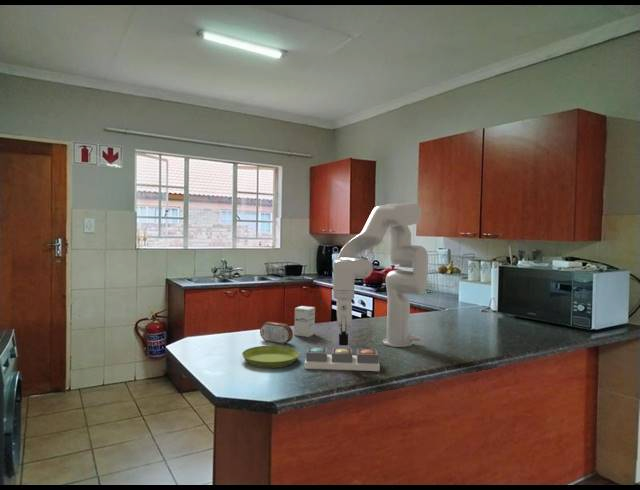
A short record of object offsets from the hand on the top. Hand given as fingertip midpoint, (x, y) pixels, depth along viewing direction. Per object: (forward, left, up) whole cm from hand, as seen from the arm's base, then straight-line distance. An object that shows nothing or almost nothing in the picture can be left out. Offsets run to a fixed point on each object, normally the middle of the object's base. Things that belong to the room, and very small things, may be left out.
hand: (343, 344), depth 157 cm
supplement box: (+17, -42, -7) cm, 46 cm away
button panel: (0, +1, -7) cm, 7 cm away
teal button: (+9, +1, -5) cm, 11 cm away
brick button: (-9, +1, -5) cm, 10 cm away
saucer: (+26, -1, -8) cm, 28 cm away
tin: (+28, -27, -8) cm, 40 cm away
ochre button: (0, +1, -5) cm, 5 cm away
